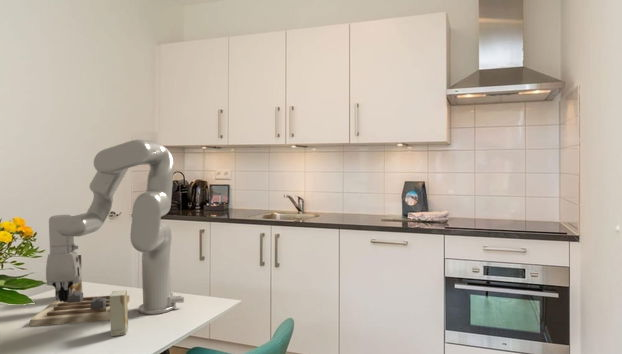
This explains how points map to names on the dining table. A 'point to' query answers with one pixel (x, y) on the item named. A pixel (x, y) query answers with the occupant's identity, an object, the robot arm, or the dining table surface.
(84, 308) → the wooden slatted tray
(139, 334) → the dining table surface
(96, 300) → the switch tab near
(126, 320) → the skincare box
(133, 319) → the dining table surface
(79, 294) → the switch tab far
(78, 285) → the coffee box
